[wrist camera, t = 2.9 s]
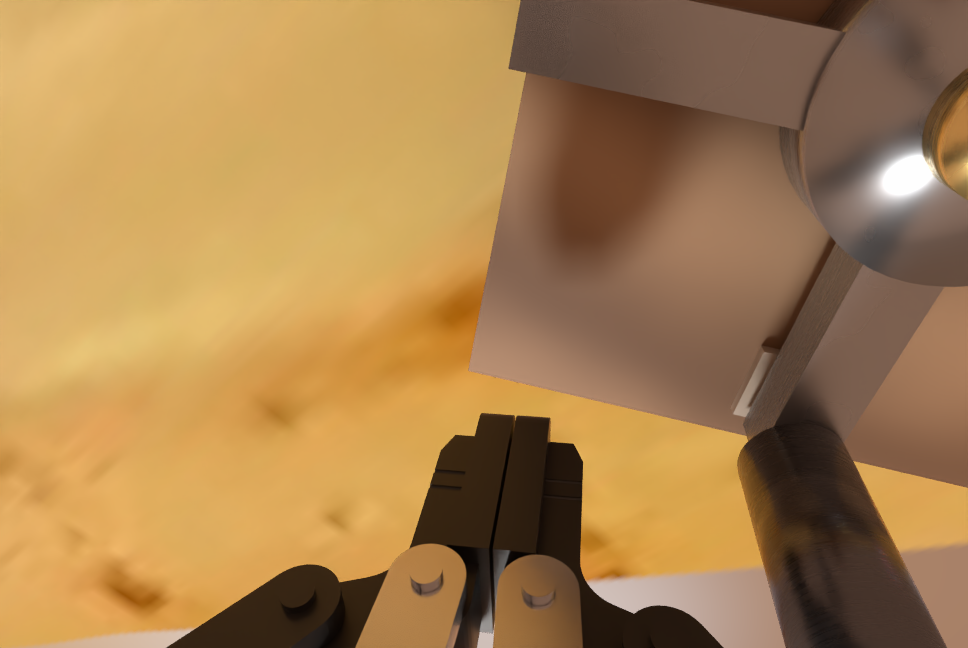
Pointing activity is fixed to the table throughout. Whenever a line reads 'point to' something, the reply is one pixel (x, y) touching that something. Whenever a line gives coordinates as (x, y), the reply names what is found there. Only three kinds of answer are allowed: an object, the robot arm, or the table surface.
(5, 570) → the table surface
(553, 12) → the capstan
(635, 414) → the table surface
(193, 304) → the table surface
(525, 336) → the stand
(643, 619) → the robot arm
